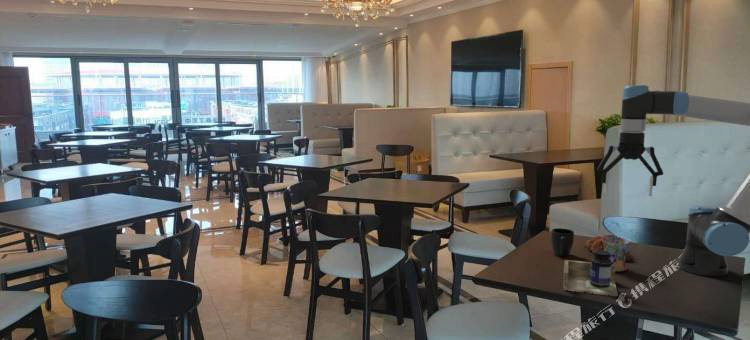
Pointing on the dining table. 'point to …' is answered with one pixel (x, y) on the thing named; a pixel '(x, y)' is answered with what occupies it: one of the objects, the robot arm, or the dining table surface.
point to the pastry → (601, 245)
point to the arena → (585, 279)
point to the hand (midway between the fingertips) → (627, 194)
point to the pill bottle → (600, 269)
